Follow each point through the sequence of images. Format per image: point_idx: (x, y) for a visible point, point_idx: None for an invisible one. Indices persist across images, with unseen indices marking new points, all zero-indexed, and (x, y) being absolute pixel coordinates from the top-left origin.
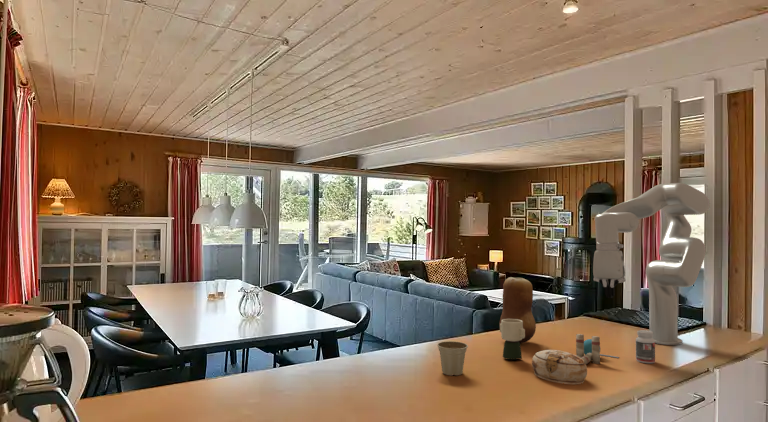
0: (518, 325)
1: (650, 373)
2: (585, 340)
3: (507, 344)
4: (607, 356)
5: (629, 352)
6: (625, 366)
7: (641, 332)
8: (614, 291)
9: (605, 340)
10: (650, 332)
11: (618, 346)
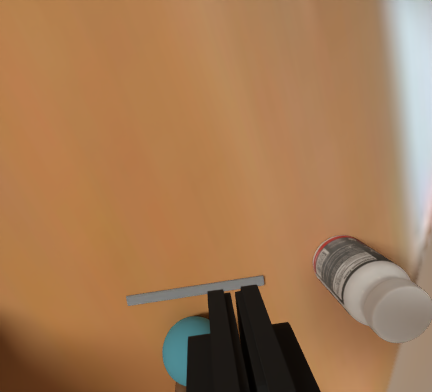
0: None
1: (372, 361)
2: (177, 378)
3: None
4: (230, 289)
5: (266, 181)
6: (305, 348)
7: (393, 341)
8: (303, 359)
9: (120, 39)
10: (425, 316)
11: (205, 115)
